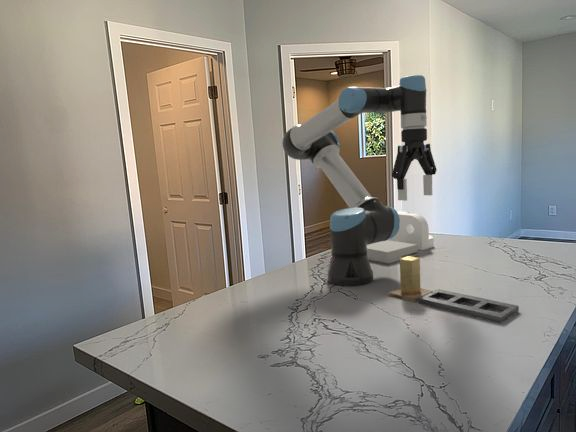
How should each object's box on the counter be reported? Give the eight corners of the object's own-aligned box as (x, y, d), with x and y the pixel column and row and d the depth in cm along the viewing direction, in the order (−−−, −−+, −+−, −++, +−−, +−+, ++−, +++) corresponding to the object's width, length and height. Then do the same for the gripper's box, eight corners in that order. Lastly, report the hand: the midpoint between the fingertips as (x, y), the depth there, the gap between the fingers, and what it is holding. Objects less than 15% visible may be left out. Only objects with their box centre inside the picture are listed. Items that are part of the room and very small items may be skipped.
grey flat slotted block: (419, 303, 121) (419, 298, 120) (438, 294, 127) (438, 289, 127) (501, 323, 104) (501, 317, 104) (518, 311, 110) (518, 305, 110)
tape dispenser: (422, 250, 181) (421, 216, 179) (387, 244, 195) (386, 213, 193) (438, 245, 188) (438, 212, 186) (404, 240, 202) (403, 209, 200)
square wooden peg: (400, 292, 128) (399, 258, 127) (408, 288, 131) (407, 256, 130) (412, 294, 125) (411, 260, 124) (420, 291, 128) (419, 257, 127)
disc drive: (375, 248, 192) (375, 236, 192) (417, 255, 174) (417, 243, 173) (345, 255, 182) (345, 243, 182) (387, 264, 164) (387, 251, 163)
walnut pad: (388, 295, 129) (388, 292, 129) (406, 287, 135) (406, 285, 134) (415, 301, 122) (415, 299, 122) (433, 293, 128) (433, 290, 128)
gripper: (399, 128, 123) (401, 203, 126) (447, 126, 139) (448, 193, 142) (378, 130, 129) (380, 202, 132) (426, 128, 145) (427, 193, 148)
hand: (415, 197), depth 137 cm, fingers open, 13 cm apart
